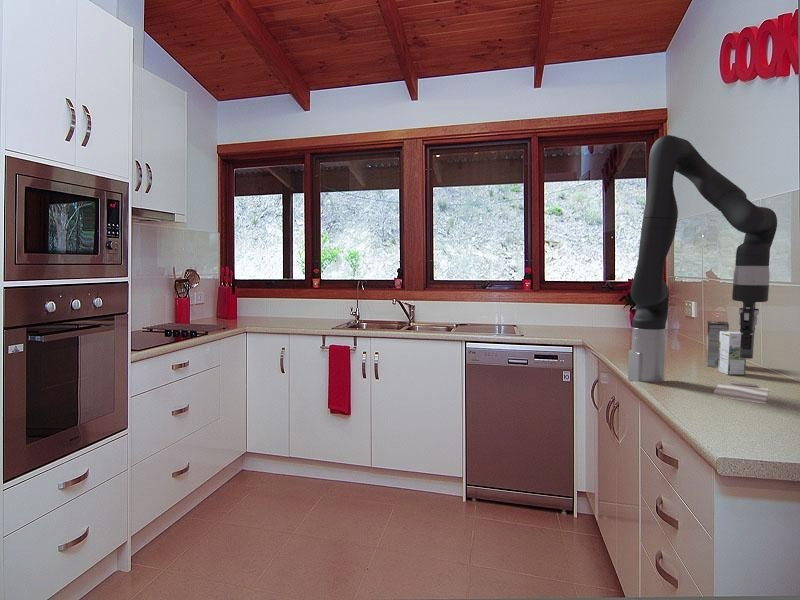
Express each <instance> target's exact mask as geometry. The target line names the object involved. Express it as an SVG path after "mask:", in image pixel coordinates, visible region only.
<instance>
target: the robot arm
mask: <svg viewBox="0 0 800 600" xmlns="http://www.w3.org/2000/svg"><path fill="white" fill-rule="evenodd" d="M675 172H676V173H678V174H679V175H682V176H683V177H685V178H687V180H689V181H690V182H691V183H692V184H693V185H694V187H695V188H696V190H697V191H698V192H699V194H700V195H701V196H702V197H703V198H704V199H705V200H706V201H707V202H708V203H709V204H711V205H712V206H713V207H714V208H715V209H717V210H718V211H719V212H721V214H722V215H723V217H724V218H725V220H726V221H727V222H728V223H729V224H730V225H731V226H732V227H733V228H734V229H735V230H737V231H739V232H741V233H743V234H744V239H743V243H741V244H739V245H738V246H737V248H736V251H735V252H736V253H735V266H734V271H733V279H732V295H731V296H732V297H731V299H732V301H734V302H741V303H742V307H739V308H738V315H739V322H738V323H739V326H740V327H739V331H740V333H741V348H742V349H747V350H750V349H751V346H752V336H753V327H755V328H756V326H757V324H758V316H759V313H760V311H759V310H760V308H756V303H766V302H768V300H769V292H770V291H769V289H770V277H771V276H770V257H771V251H770V250H771V247H772V244H773V243H774V242H773V241H774V239H775V236H776V231H777V228H778V217H777V214H776V212H775V211H774V210H773V209H771V208H769V207H765V206H764V207H763V206H759V205H756V204H754V203H753V202H752V201H750V200H749V199H748V198H747V196H748V195H747V194H746V192H745V191H744V190H743V189H742V188H740V187H739V186H738V185H736V183H734V182H733V181H732V180H730V179H729V178H728V177H726V176H724V174H722V173H720V172H719V171H718V170H717V169H716V168H714V167H713V166H712V165H710V164H709V162H707V161H706V160H705V159H704V158H703V156H702V155H701V154H700V152H699V151H698V150H697V149H696V147H695V146H693V144H692V143H691V142H690V141H689V140H687V139H684V138H682V137H677V136H674V135H669V134H665V135H662V136H660V137H659V138H657V139H656V140H655V141H654V143H653V144H652V146H651V148H650V152H649V157H648V177H647V179H648V181H647V190H646V196H645V203H644V204H645V206H644V211H643V217H642V223H641V230H640V239H639V248H638V258H637V264H636V268H635V273H634V275H633V279H632V283H631V287H630V296H631V299H632V301H633V302H634V303H635V313H634V316H633V318H632V321H631V323H632V325H631V326H632V327H631V328H632V329H631V349H630V350H628V362H627V363H628V365H627V366H628V367H627V369H628V370H627V371H628V372H627V380H629V381H631V382H645V383H662V382H664V381H665V358H666V357H665V355H666V354H665V352H666V328H667V327H666V326H667V325H666V324H667V320H668V315H669V312H668V311H669V300H670V298H669V297H670V296H669V295H670V293H669V288H668V284H667V283H666V282H665V281H664V278H663V275H664V266H665V262H666V259H667V256H668V254H669V252H670V249H671V247H672V245H673V242H674V239H675V235H676V231H677V223H678V217H679V210H678V209H679V208H678V203H677V199H676V195H675V190H674V177H675ZM753 317H754V320H753ZM744 326H750V329H744ZM755 332H756V331H754V334H755Z"/></svg>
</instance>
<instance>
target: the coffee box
mask: <svg viewBox="0 0 800 600" xmlns="http://www.w3.org/2000/svg"><path fill="white" fill-rule="evenodd" d="M706 325H707V326H706V348H705V349H706V352H705V353H706V355H705V356H706V359H705V362H706V367H713V368H718V358H719V337H720V331H730V329H729V328H730V323H729V322H728V321H714V320H713V321H712V320H707V323H706Z"/></svg>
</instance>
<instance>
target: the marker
mask: <svg viewBox="0 0 800 600" xmlns="http://www.w3.org/2000/svg"><path fill="white" fill-rule="evenodd" d="M753 320H754V317H753ZM744 329H750V326H744ZM755 330H756V326H755V327H753V336H752V346H751V349H750V350H747V349H742V348H741V341H740V357H741V358H746V359H754V358H753V357H754V345H755V333H754V331H755ZM755 332H756V331H755Z"/></svg>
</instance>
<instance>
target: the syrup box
mask: <svg viewBox="0 0 800 600" xmlns="http://www.w3.org/2000/svg"><path fill="white" fill-rule="evenodd" d="M740 341H741V333H740V330H729V331H720V337H719V358H718V367H717V372H719V373H721V374H724V375H727V376H746V369H747V366H746V365H747V358H741V357H740Z"/></svg>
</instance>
